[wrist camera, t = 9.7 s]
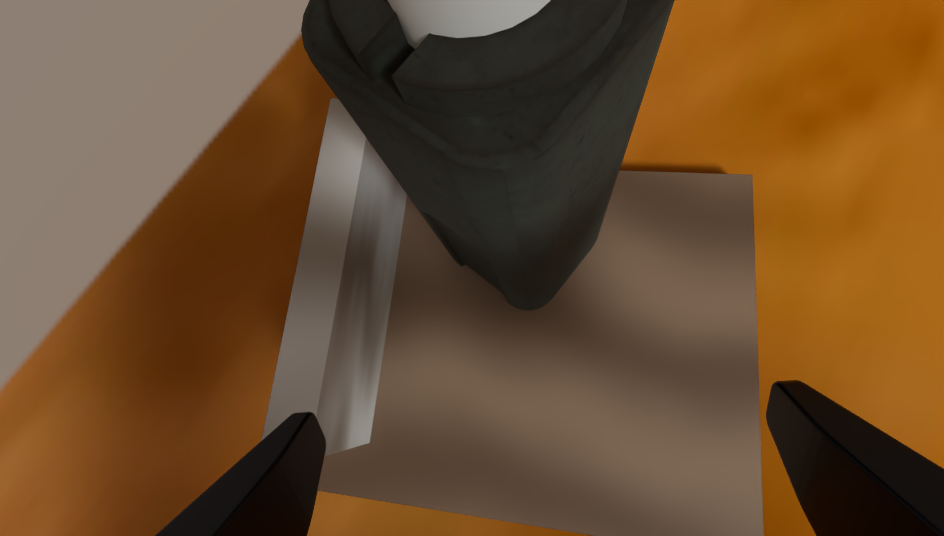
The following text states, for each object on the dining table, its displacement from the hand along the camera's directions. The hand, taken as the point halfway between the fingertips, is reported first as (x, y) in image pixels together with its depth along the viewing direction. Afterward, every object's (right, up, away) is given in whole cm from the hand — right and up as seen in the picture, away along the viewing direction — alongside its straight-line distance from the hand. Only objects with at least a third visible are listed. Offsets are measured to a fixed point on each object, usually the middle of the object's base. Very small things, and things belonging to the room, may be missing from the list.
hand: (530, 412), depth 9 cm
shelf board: (+1, 0, +11) cm, 11 cm away
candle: (+1, +4, +11) cm, 11 cm away
